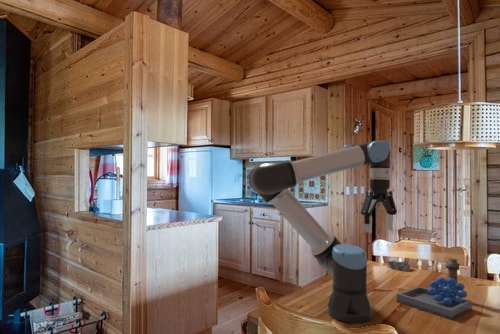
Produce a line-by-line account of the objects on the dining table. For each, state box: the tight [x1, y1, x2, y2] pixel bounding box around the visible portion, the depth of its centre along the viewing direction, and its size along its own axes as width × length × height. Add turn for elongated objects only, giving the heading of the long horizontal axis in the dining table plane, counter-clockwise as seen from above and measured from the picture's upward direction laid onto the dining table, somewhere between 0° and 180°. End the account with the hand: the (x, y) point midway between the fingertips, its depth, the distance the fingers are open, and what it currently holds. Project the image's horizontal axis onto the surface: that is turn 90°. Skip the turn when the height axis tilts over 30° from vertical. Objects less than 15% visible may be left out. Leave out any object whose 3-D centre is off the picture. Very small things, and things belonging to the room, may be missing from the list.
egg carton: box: [386, 259, 411, 272], centre depth 175 cm, size 11×8×4 cm
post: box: [445, 258, 462, 298], centre depth 132 cm, size 6×6×16 cm
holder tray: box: [396, 285, 473, 321], centre depth 125 cm, size 16×20×3 cm
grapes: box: [427, 276, 468, 305], centre depth 125 cm, size 12×7×12 cm
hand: (379, 231), depth 133 cm, fingers open, 13 cm apart
